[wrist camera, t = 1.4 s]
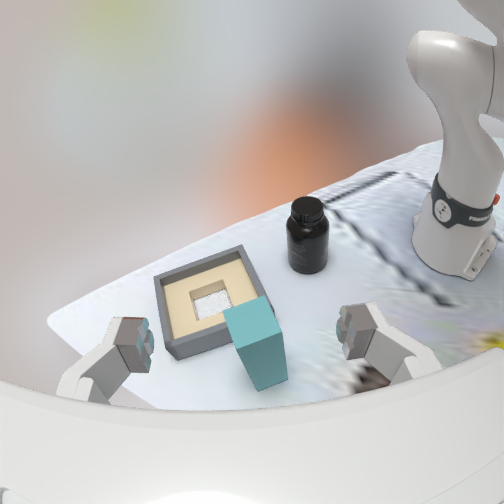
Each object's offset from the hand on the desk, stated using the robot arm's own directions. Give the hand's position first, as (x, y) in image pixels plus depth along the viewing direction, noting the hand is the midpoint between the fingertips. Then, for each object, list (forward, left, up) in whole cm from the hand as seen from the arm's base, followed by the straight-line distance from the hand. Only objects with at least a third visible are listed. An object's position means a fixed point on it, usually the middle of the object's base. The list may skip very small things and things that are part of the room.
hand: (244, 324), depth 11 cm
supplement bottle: (-15, -24, -28) cm, 39 cm away
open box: (+3, -21, -28) cm, 35 cm away
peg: (-1, -8, -28) cm, 29 cm away
